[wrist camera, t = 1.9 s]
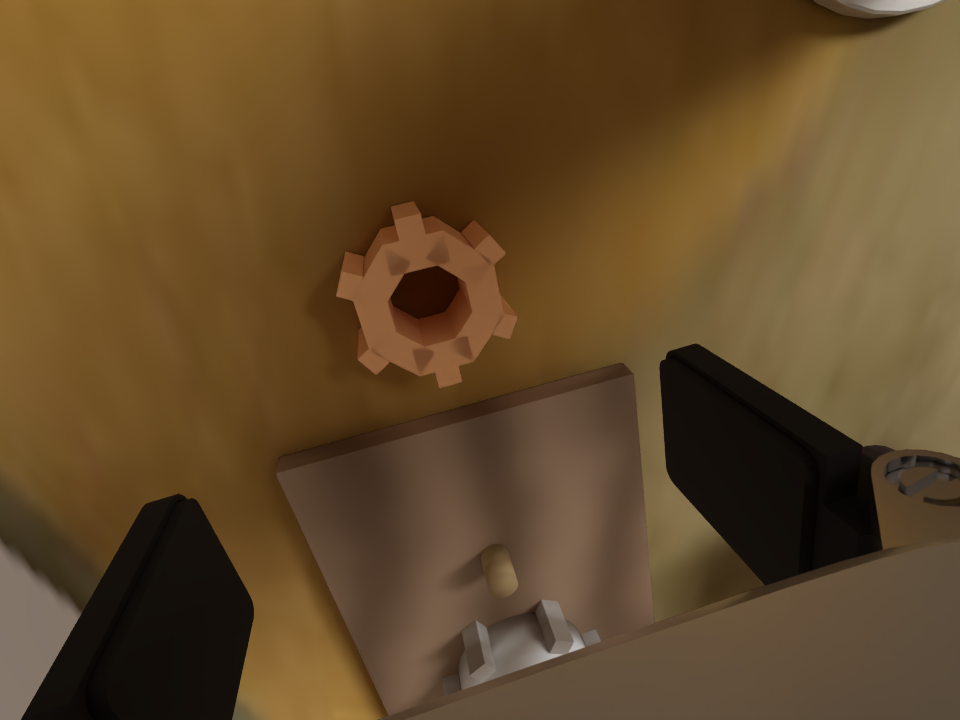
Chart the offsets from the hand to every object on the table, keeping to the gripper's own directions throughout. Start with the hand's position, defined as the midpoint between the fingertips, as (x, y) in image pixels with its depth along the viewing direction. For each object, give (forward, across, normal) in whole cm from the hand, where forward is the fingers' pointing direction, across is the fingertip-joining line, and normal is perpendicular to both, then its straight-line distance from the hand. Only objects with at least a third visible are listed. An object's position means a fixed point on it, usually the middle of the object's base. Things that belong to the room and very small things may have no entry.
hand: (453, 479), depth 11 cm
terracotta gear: (+12, -1, -1) cm, 12 cm away
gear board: (+12, -1, +18) cm, 22 cm away
